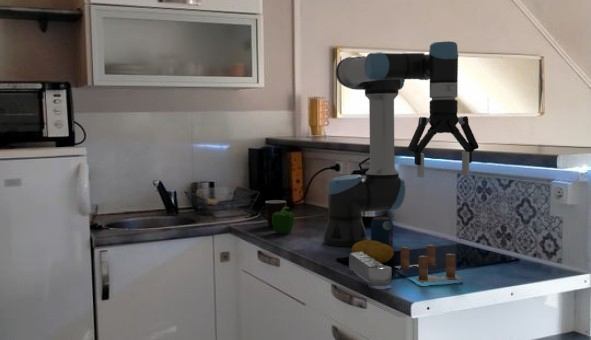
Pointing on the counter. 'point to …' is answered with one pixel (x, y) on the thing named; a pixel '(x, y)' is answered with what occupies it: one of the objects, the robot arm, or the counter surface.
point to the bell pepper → (283, 221)
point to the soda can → (382, 230)
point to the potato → (374, 250)
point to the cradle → (429, 265)
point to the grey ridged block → (370, 269)
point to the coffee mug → (273, 209)
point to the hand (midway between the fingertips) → (443, 176)
